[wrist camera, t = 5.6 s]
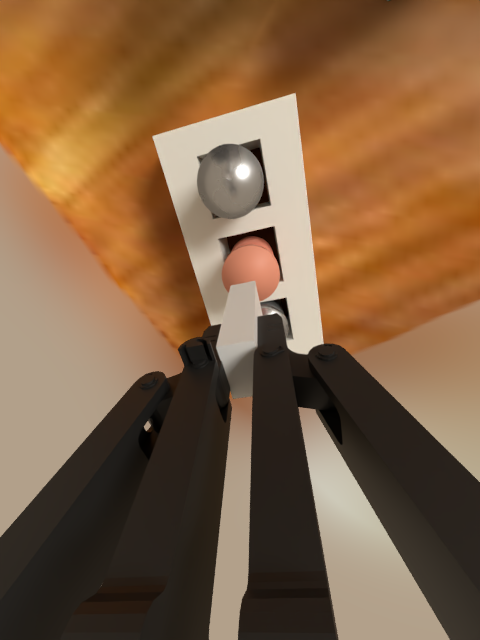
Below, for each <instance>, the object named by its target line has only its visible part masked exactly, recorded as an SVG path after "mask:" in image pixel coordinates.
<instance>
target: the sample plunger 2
mask: <svg viewBox="0 0 480 640" xmlns="http://www.w3.org/2000/svg"><path fill="white" fill-rule="evenodd" d="M260 305H261V310H262V315H263V316H264V315H269V314H275V313H277V314H279V315H280V316H281V317H282V320H283V326H284V331H285V337H286V338H287V335H288V330H289V328H288V322H287V319H286V317H285V315H284V312H283V307H282V302H281V300H280V299H276V300H270V301H265V302H260Z"/></svg>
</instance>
